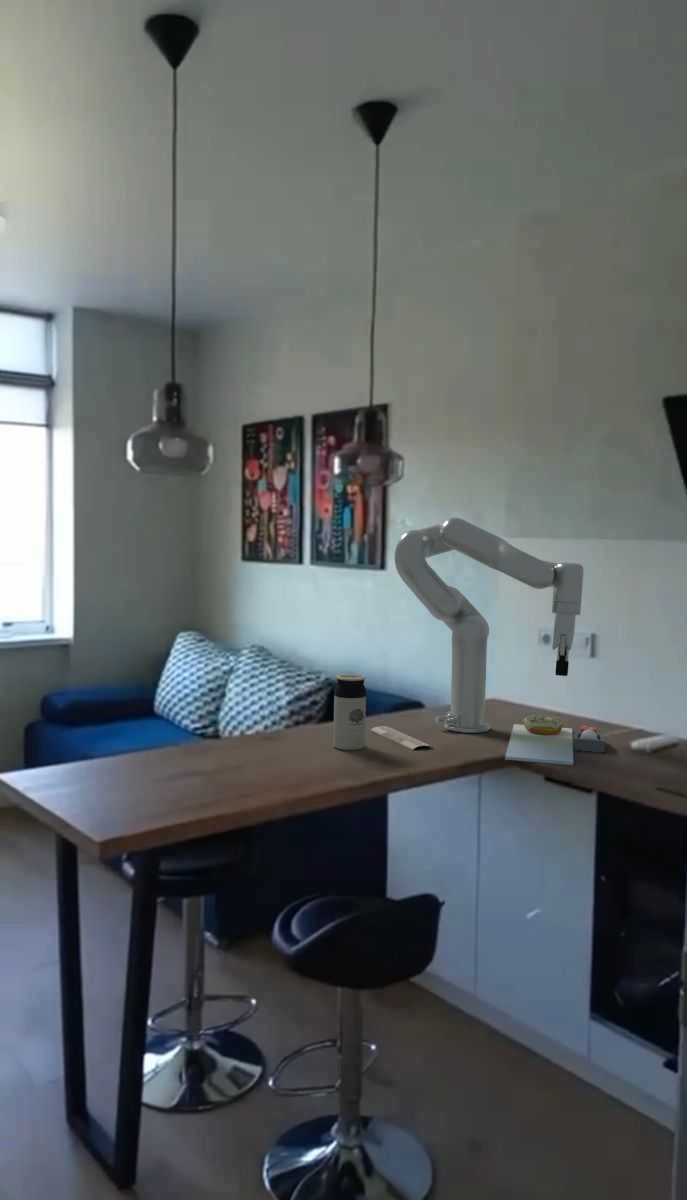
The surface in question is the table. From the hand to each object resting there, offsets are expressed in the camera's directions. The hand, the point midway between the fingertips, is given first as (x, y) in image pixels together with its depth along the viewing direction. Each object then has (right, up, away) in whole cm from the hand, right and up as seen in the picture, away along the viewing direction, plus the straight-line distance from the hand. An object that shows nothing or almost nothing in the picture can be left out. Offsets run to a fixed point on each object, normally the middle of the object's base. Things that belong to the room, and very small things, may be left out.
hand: (561, 675), depth 245 cm
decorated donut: (-5, -16, +2) cm, 17 cm away
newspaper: (-45, -17, -9) cm, 49 cm away
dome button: (+4, -17, -14) cm, 22 cm away
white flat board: (-8, -17, -11) cm, 22 cm away
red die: (+5, -17, -7) cm, 19 cm away
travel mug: (-58, -17, -19) cm, 63 cm away
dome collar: (+4, -18, -13) cm, 23 cm away
